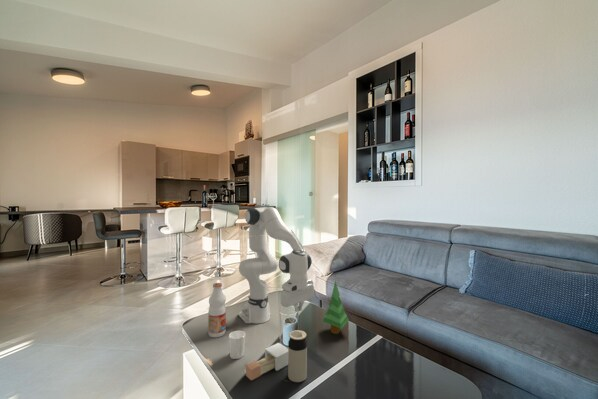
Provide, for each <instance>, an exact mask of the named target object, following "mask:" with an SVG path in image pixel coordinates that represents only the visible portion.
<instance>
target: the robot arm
mask: <svg viewBox="0 0 598 399" xmlns="http://www.w3.org/2000/svg"><path fill="white" fill-rule="evenodd" d="M244 215H245V216H244V217H245V221H246V223H247V224H248V225H249V229H248V240H249V242H248V243H249V244H248V245H249V246H248V247H249V249H250V250H251V251H252V252H253V253H256V254H257V257H252V258H251V257H250V258H247V259H243V260H241V262H240V263H239V265H238V270H239V271H238V272H239V273H240V275H241V276H242V277H244V278H245V279H246V281H247V282H248V285H249V296H247V298H248V301H247V302H246V303H244V304H243V306H242V308H241V310H242V311H240V312H239V313H238V317H239V318H241V319H242V321H243V322H244V323H245V324H255V325H256V324H263V323H266V322H268V321H269V320H270V317H271V315H272V313H271V312H270V304H269V295H268V283H267V282H266V281H265V280H263V279H261V278H260V276H261V275H266V274H267V275H268V274H271V273H274V272H276V271H277V269H278V268H279V270H280V272H282V273H284V274H289V279H288V280H287V281H285V282H284V283H282V284H281V289H282V290H281V294H280V304H281V306H282V307H284V308H289V307H292V306H293V307H294V311H295V312H296V313H298V312H301V311H303V305H304V304H305V302H307V301H308V300H311V299H314V297H315V295H316V294H315V286H314V281H313V280H312V279H309V280H308V273H307V272H308V271H309V269H310V268H311V266H312V263H313V262H312V261H313V260H312V257H311V255H310V254H309V253H308V252H307V251H306V250H305V247H303V245H302V243H301V241H300V240H299V239H298V237H297V235H296V234H295V233H294V231H293V230H292V229H290V228H289V227H288V226H287V225H286V224H285V222H284V221H283V218H282V216H281V214H280V211H279V209H277V208H275V207H273V206H268V207H266V206H262V207H250V208H248V209H247V210H246V211H245V214H244ZM267 235H268V236H269V237H270V238H271V239H274V240H279V241H283V242H286V243H287V244H288V245H289V246H290V248H291V250H292V251H291V252H290V253H287V254H283V255H281V256H280V257H279V260H277V258H275V257H274V256H273V255H272V254H271V253H270V251H269V248H268V244H267Z"/></svg>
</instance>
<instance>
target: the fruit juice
mask: <svg viewBox="0 0 598 399" xmlns="http://www.w3.org/2000/svg"><path fill="white" fill-rule="evenodd" d="M222 286H223V283H221V282H215V283H213V284H212V287H213V291H212V293H211V295H210V297H209V299H208V303H209V307H208V320H207V322H208V327H207V329H208V330H207V331H208V332H207V333H208V336H209V337H210V338H220V337H222V336H224V335H225V334H226V329H227V328H226V327H227V325H226V320H227V318H226V316H227V313H226V312H227V307H226V300H227V298H226V295H225V294H224V293H223V291H222Z"/></svg>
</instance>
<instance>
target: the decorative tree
mask: <svg viewBox="0 0 598 399" xmlns="http://www.w3.org/2000/svg"><path fill="white" fill-rule="evenodd" d="M332 288H333V289H332V292H331V298H330V300H329V304H328V307H327V309H326V312H325V315H324V317H323V319H322V320H321V322H323V323H326V324H328V325H330V332H331V334H332V333H335V334H334V335H338V334H340V333H339V332H341V331H340V329H341V330H342V329H343V328H344V326H346V324H347V323H348V322H349V321H350V319H349V318H348V315H347V314H346V311H345V309H344V305H343V304H342V300H341V295H340V292H339V287H338V285H337V281H336V279H335V280H334V285H333V287H332ZM337 333H338V334H337Z"/></svg>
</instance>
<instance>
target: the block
mask: <svg viewBox="0 0 598 399" xmlns="http://www.w3.org/2000/svg"><path fill="white" fill-rule="evenodd" d="M245 376H246V377H247V378H248V380H250V381H254V380H255V379H258V378H259V377H261V375H260V365H259V364H258V363H257V361H256V360H253V361H251V362H249V363H247V364H245Z"/></svg>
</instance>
